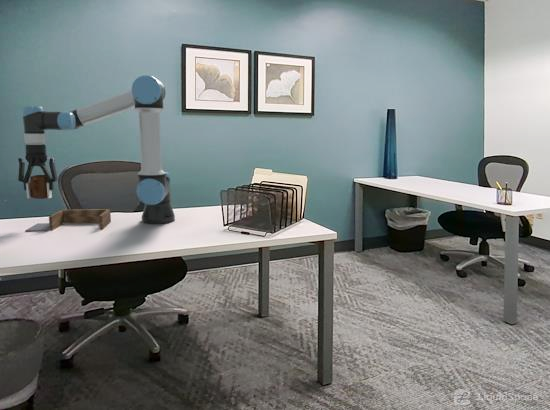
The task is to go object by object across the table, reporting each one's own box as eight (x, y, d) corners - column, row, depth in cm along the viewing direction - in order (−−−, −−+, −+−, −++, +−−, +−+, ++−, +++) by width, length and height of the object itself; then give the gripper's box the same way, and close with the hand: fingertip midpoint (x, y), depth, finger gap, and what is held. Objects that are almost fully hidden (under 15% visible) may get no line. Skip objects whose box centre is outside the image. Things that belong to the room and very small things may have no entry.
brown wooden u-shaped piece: (110, 221, 202) (110, 209, 200) (102, 229, 187) (102, 215, 186) (62, 222, 199) (61, 209, 197) (49, 230, 184) (48, 216, 183)
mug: (41, 200, 180) (40, 178, 178) (22, 200, 179) (21, 177, 178) (54, 196, 192) (53, 175, 190) (36, 195, 191) (35, 174, 190)
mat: (58, 224, 195) (58, 223, 195) (47, 231, 182) (47, 229, 182) (37, 224, 194) (37, 223, 194) (25, 231, 181) (25, 230, 181)
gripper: (64, 143, 187) (67, 196, 191) (13, 143, 184) (18, 196, 188) (58, 144, 179) (61, 199, 183) (5, 144, 176) (10, 199, 180)
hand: (39, 197), depth 186 cm, fingers closed on mug, 7 cm apart
